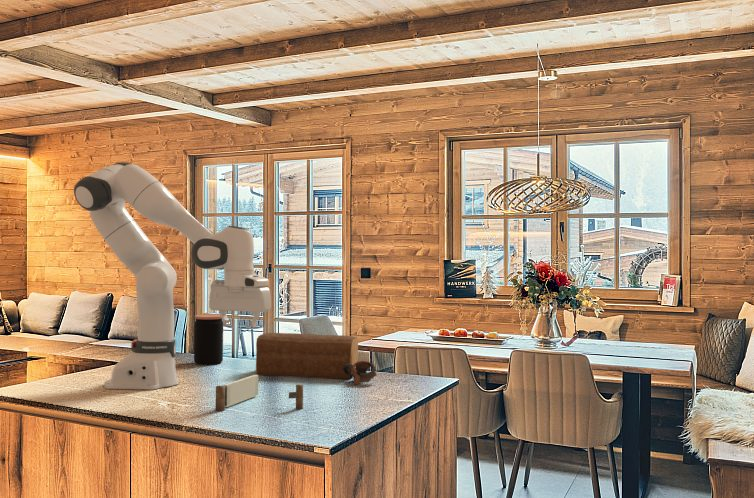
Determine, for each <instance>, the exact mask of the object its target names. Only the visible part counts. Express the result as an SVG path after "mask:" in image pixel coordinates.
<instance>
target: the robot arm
mask: <svg viewBox="0 0 754 498" xmlns="http://www.w3.org/2000/svg"><path fill="white" fill-rule="evenodd" d="M73 195H74V198H75V200H76V202H77V204H78V205H80V207H81V208H82V209H84V210H86V211H87V212H88V211H89V216H90V218H91V221H92V222H93V225H94V227H95V228H96V229H97V231H98V233H99V235H100V236H101V237H102V238H103V240H104V241H105V242H106V244H107V245H108V247H109V248H110V249H111V250H112V252H113V253H114V255H116V257H117V259H118V260H119V261H120V262H121V263H122V264H123V265H124V266H125V267H126V268H127V270H129V272H131V273H132V274H133V275H134V277H135V288H136V289H135V290H136V292H135V293H136V303H137V317H138V319H137V320H138V321H137V322H138V323H137V324H138V325H137V326H138V327H137V329H138V331H137V339H133V340H132V341H131V344H130V351H131V352H130V353H129V354H127V355H126V356H124V357H123V358H122V359H120V361H118V362H117V363H115V365H114V367H113V369H112V372H111V378H109V379H107V380H105V381H104V383H103V387H104V388H105V389H110V390H113V389H114V390H148V391H149V390H157V389H160V388H166V387H168V388H169V387H171V386H176V385H178V384H179V382H180V381H179V378H178V373H177V370H176V369H177V368H176V362H175V361H176V360H175V359H176V358H175V357H176V351H177V345H176V344H177V343H176V339H175V308H174V288H175V286H176V285H177V282H178V274H177V272H176V270H175V269H174V267H173V266H172V264H171V263H170V262H169V261H168V260H167V259H166V257H165V256H164V255H163V254H162V253H161V251H160V250H159V249H158V248H157V247H156V246H155V244H153V242H152V241H151V240H150V238H149V237H148V236H147V235H146V233H145V232H144V231H143V229H142V228H141V227H140V226H139V224H138V223H137V221H136V220H135V219H134V218H133V216H132V215H131V214H130V213H129V212H128V210H127V208H126V202H127V203H128V204H129V205H130V206H131V207H132V208H133V209H134V210H135V211H136V212H137V213H139V214H140V215H141V216H142V217H144V218H146V219H147V220H148V221H151V222H153V223H156V224H158V225H163V226H167V227H170V228H172V229H174V230H176V231H178V232H180V234H182V235H183V236H185V238H187V239H188V240H189V241H191V243H193V245H192V247H191V253H190V254H191V260H192V261H193V263H194V264H195V265H196V267H198V268H200V269H204V270H223V279H215V280H214V281H212V282H211V283H210V293H209V302H208V306H209V309H210V310H211V311H217V312H218V311H219V315H220V316H221V318H222V321H223V327H229V326H231V319H229V318H228V315H227V314H228V313H229V312H248V313H249V312H250V313H251V316H253V317H252V319H251V320H250V321H248V324H249V325H248V326H249V327H250V328H257V326H258V325H257V323H258V322H257V321H258V320H259V318H260V316H261V313H266V312H267V313H268V312H269V311H271V309H272V297H271V296H272V295H271V290H270V288H269V287H268V286H269V285H270V280H269V278H266V277H264V276H261V275H258V274H256V273H255V267H254V257H255V246H254V245H255V244H254V236H253V233H252V231H251V230H250V229H248V228H246V227H242V226H236V225H227V226H226V227H224V228H223V229H222V230H220V231H219V232H217V233H213V232H212V231H211V230H209V228H208V227H206V226H205V225H204V224H203V223H201V222H200V221H199V220H198V219H197V218H196V217H194V215H192V214H191V213H190V212H189V211H188V210H187V209H186V208H185V207H184V206H183V205H182V204H181V202H180V201H179V200H178V199H177V198H176V196H174V195H173V194H172V192H171V190H169V189H168V188H167V186H165V185H164V184H163V183H162V182H161V181H160V180H158V179H157V178H156V177H155V176H154V175H152V174H151V173H149V172H148V171H147V170H146V169H144V168H142V167H141V166H139V165H137V164H132V163H131V162H128V161H127V162H125V161H124V162H123V161H122V162H116V163H113V164H112V165H108V166H105V167H102V168H100V169H98V170H97V171H95V172H93V173H91V174H89V175H88V176H83V178H80V179H79V181H77V182H76V184H75V185H74V188H73Z"/></svg>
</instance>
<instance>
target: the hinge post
mask: <svg viewBox="0 0 754 498" xmlns="http://www.w3.org/2000/svg"><path fill="white" fill-rule="evenodd" d="M214 408H215V411H216V412H224V411H225V408H226V407H225V386H223V385H216V386H215V407H214Z"/></svg>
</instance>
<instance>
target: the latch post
mask: <svg viewBox="0 0 754 498" xmlns="http://www.w3.org/2000/svg"><path fill="white" fill-rule="evenodd" d="M288 399H295V409H296V410H303V409H304V384H300V383H298V384H297V383H296V385H295V391H288Z"/></svg>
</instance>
